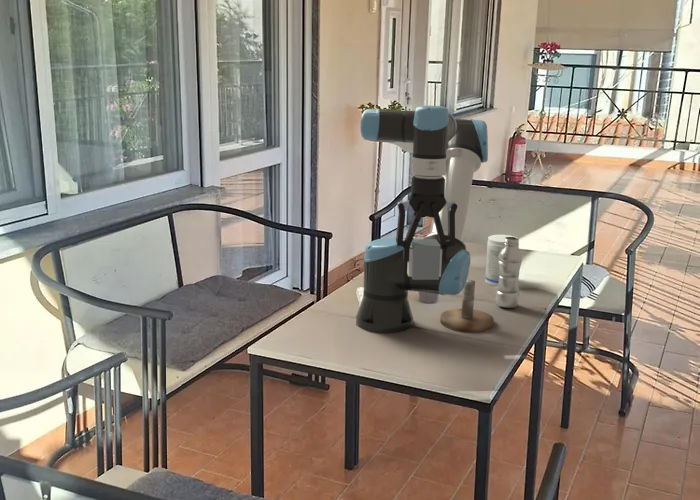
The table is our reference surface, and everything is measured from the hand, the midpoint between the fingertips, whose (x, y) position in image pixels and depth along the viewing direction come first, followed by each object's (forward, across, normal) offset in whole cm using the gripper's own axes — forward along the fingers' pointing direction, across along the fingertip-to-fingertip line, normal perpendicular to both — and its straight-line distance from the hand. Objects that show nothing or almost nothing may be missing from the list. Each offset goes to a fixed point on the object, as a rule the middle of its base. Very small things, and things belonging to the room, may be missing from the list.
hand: (423, 274), depth 183 cm
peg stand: (+20, +16, +22) cm, 34 cm away
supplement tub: (+20, +34, +57) cm, 69 cm away
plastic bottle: (+20, +30, +35) cm, 50 cm away
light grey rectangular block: (0, 0, 0) cm, 0 cm away
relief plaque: (+21, -6, +39) cm, 45 cm away
